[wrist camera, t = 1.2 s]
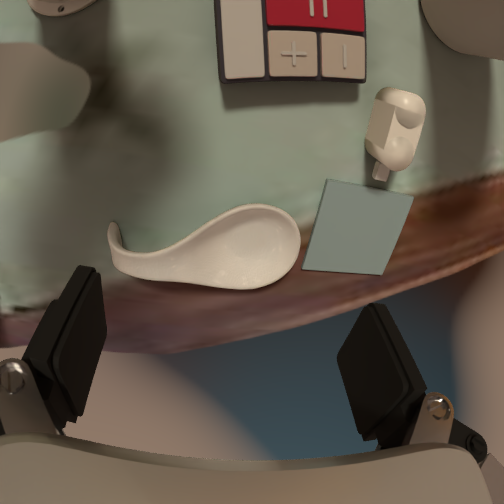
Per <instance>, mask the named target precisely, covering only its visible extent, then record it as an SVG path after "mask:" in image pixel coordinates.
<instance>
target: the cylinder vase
mask: <svg viewBox="0 0 504 504" xmlns="http://www.w3.org/2000/svg"><path fill="white" fill-rule="evenodd" d="M421 5H422V9H423V12H424V15H425V17H426V20H427V22H428V24H429V25H430V27H431V29H432V30H433V31H434V33H435V34H436V35H437V37H438V38H439V39H440V40H441V41H442V42H443V43H444V44H446V45H447V46H448V47H450V48H451V49H453V50H455V51H457V52H459V53H463V54H469V55H475V56H481V57H487V58H493V59H498V60H503V61H504V0H421Z"/></svg>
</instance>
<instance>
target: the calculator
mask: <svg viewBox="0 0 504 504" xmlns="http://www.w3.org/2000/svg"><path fill="white" fill-rule="evenodd" d="M214 13H215V29H216V44H217V59H218V73H219V80H220V81H221V82H222V83H224V84H228V83H242V82H261V81H331V82H349V83H365V82H366V15H365V0H214Z"/></svg>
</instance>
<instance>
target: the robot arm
mask: <svg viewBox="0 0 504 504" xmlns="http://www.w3.org/2000/svg"><path fill="white" fill-rule="evenodd" d="M95 1H96V0H27V2H28V4H29V5H30V7H31V8H32V9H33V10H34V11H35V12H37V13H40V14H42V15H46V16H55V17H58V16H66V15H69V14H73V13H76V12H78V11H80V10H82V9H84V8H86V7H88V6H89V5H91V4H92V3H94V2H95ZM63 9H64V10H63ZM106 335H107V326H106V319H105V312H104V304H103V295H102V286H101V276H100V273H96V270H95V268H93V267H87V266H81V265H79V266H78V267H77V268H76V270H75V271H74V273H73V275H72V277H71V278H70V280H69V282H68V283H67V285H66V287H65V289H64V290H63V292H62V294H61V296H60V297H59V299H58V300H53V301H52V302H51V303H50V305H49V307H48V308H47V310H46V312H45V314H44V316H43V317H42V319H41V321H40V323H39V325H38V327H37V329H36V331H35V333H34V335H33V337H32V339H31V341H30V343H29V345H28V347H27V349H26V351H25V353H24V355H23V357H22V359H21V360H19V359H15V358H10V359H6V360H3V361H1V362H0V504H504V467H503V466H502V465H501V464H500V463H499V462H498V461H497V460H496V458H495V457H494V456H493V455H492V454H491V453H488V454H487V444H486V442H485V440H484V439H483V437H482V436H481V435H480V434H478V433H477V432H475V431H474V430H472V429H470V428H469V427H467V426H466V425H464V424H462V423H461V422H459V421H458V420H456V419H454V418H453V417H454V409H453V406H452V404H451V402H450V401H449V400H448V399H447V397H445V396H444V395H443V394H440V393H437V392H432V393H429V394H427V395H426V394H425V390H426V389H427V387H426V385H425V382H424V380H423V378H422V376H421V374H420V372H419V370H418V368H417V366H416V363H415V361H414V359H413V357H412V355H411V353H410V351H409V349H408V347H407V345H406V343H405V341H404V340H403V337H402V335H401V333H400V332H399V330H398V328H397V326H396V324H395V322H394V320H393V318H392V316H391V315H390V313H389V311H388V309H387V307H386V306H385V305H384V304H378V303H369V304H368V305H367V306H366V307H364V308H363V310H362V311H361V313H360V315H359V317H358V319H357V321H356V323H355V324H354V326H353V328H352V330H351V331H350V334H349V335H348V337H347V338H346V340H345V342H344V344H343V346H342V347H341V349H340V351H339V352H338V355H337V362H338V366H339V369H340V372H341V376H342V379H343V383H344V386H345V389H346V393H347V396H348V399H349V402H350V406H351V410H352V413H353V416H354V419H355V424H356V427H357V431H358V433H359V434H362V438H363V441H369V440H375V439H376V438H377V440H378V445H377V447H376V449H375V451H371V452H364V453H358V454H351V455H343V456H333V457H323V458H311V459H296V460H261V461H260V460H259V461H258V460H257V461H254V460H220V459H204V458H192V457H181V456H172V455H164V454H157V453H150V452H144V451H137V450H132V449H125V448H120V447H115V446H110V445H105V444H100V443H96V442H91V441H87V440H82V439H77V438H72V437H68V436H66V434H65V432H64V430H63V428H64V427H65V425H66V422H67V421H69V422H73V423H76V420H77V417H78V416H82V415H83V412H84V409H85V405H86V401H87V397H88V394H89V391H90V387H91V384H92V380H93V377H94V374H95V370H96V367H97V364H98V361H99V357H100V354H101V351H102V348H103V345H104V342H105V339H106Z"/></svg>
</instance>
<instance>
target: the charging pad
mask: <svg viewBox="0 0 504 504" xmlns="http://www.w3.org/2000/svg"><path fill="white" fill-rule="evenodd" d="M413 199H414V197H413V196H411V195H406V194H402V193H397V192H393V191H388V190H383V189H379V188H374V187H369V186H364V185H358V184H353V183H348V182H342V181H337V180H331V179H326V182H325V186H324V190H323V193H322V197H321V201H320V204H319V208H318V211H317V215H316V218H315V222H314V225H313V229H312V232H311V236H310V239H309V243H308V246H307V249H306V253H305V256H304V259H303V263H302V266H301V267H302V269H306V270H320V271H334V272H348V273H362V274H377V275H382V274H383V271H384V269H385V267H386V265H387V263H388V260H389V258H390V256H391V254H392V251H393V249H394V247H395V244H396V242H397V240H398V237H399V235H400V232H401V230H402V227H403V225H404V222H405V220H406V217H407V215H408V212H409V210H410V207H411V204H412V202H413Z"/></svg>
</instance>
